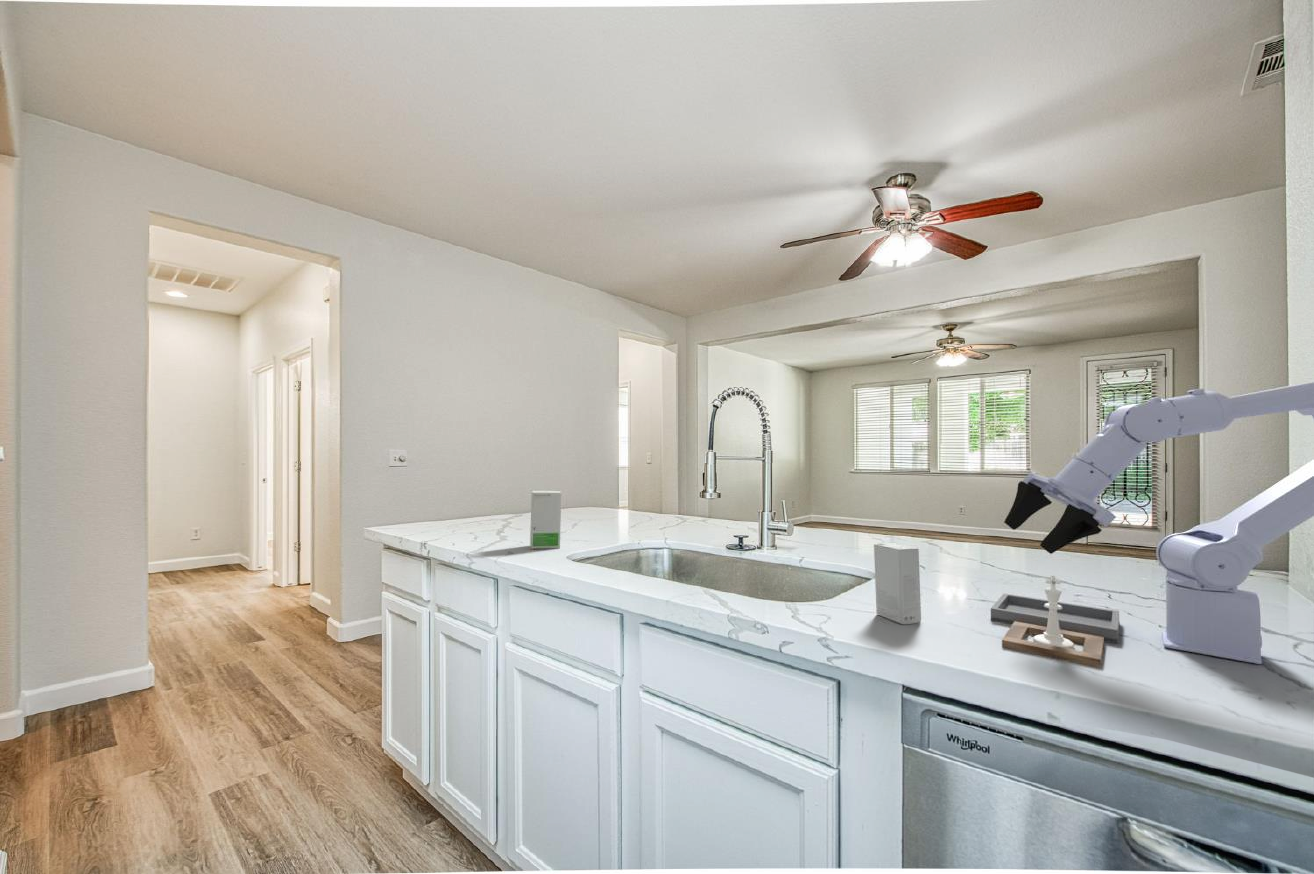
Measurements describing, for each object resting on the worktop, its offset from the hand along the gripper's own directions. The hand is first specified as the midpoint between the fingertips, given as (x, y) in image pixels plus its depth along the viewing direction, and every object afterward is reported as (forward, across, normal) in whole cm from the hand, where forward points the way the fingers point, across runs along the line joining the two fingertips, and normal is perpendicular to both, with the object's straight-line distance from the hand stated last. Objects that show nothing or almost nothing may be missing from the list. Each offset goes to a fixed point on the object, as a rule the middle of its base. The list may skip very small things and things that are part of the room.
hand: (1026, 537), depth 85 cm
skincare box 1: (+78, -70, -43) cm, 113 cm away
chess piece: (+10, +10, +6) cm, 16 cm away
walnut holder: (+10, +10, +6) cm, 16 cm away
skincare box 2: (+23, -3, -4) cm, 24 cm away
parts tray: (+8, +1, +15) cm, 17 cm away
